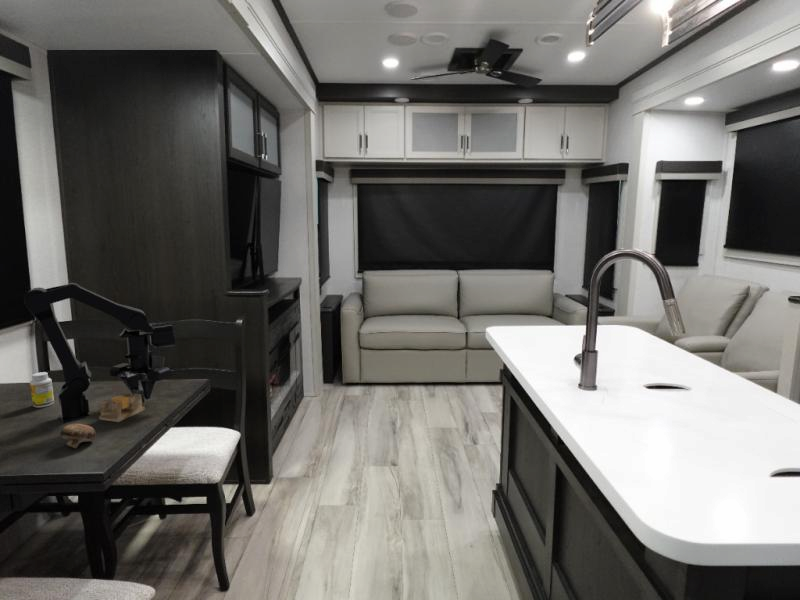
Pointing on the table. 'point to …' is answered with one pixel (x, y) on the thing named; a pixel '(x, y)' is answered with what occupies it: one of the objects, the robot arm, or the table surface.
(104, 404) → the bearing block
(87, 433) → the mushroom
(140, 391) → the shaft
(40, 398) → the supplement bottle
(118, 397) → the block
